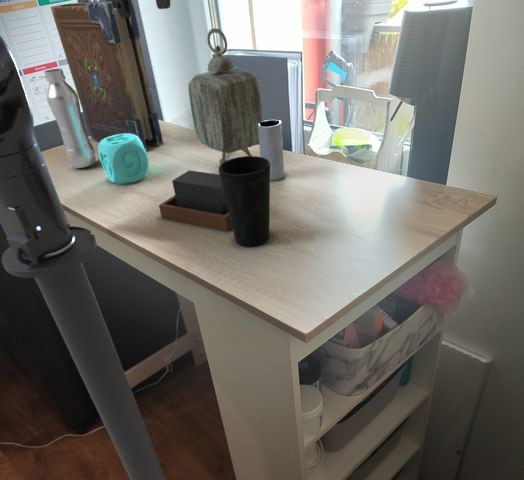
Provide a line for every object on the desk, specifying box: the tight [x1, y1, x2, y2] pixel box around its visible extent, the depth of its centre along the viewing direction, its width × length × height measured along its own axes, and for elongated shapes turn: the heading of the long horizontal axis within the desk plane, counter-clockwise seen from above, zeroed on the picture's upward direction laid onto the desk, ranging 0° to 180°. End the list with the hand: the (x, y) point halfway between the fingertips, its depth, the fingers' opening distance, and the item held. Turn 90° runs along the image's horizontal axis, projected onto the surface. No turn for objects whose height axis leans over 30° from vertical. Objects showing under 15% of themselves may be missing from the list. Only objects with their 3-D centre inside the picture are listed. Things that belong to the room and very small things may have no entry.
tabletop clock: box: [188, 27, 263, 165], centre depth 97 cm, size 14×9×25 cm, turn 34°
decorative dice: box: [97, 133, 150, 185], centre depth 101 cm, size 8×8×8 cm
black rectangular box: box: [171, 169, 229, 215], centre depth 84 cm, size 10×5×6 cm, turn 60°
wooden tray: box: [158, 194, 233, 232], centre depth 86 cm, size 10×15×2 cm, turn 60°
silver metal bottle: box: [43, 68, 97, 169], centre depth 106 cm, size 6×7×20 cm
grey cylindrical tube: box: [258, 119, 285, 181], centre depth 94 cm, size 4×4×10 cm
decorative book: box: [50, 0, 164, 152], centre depth 114 cm, size 23×7×30 cm, turn 50°
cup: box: [218, 155, 271, 248], centre depth 74 cm, size 8×8×12 cm
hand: (146, 12), depth 71 cm, fingers open, 8 cm apart
